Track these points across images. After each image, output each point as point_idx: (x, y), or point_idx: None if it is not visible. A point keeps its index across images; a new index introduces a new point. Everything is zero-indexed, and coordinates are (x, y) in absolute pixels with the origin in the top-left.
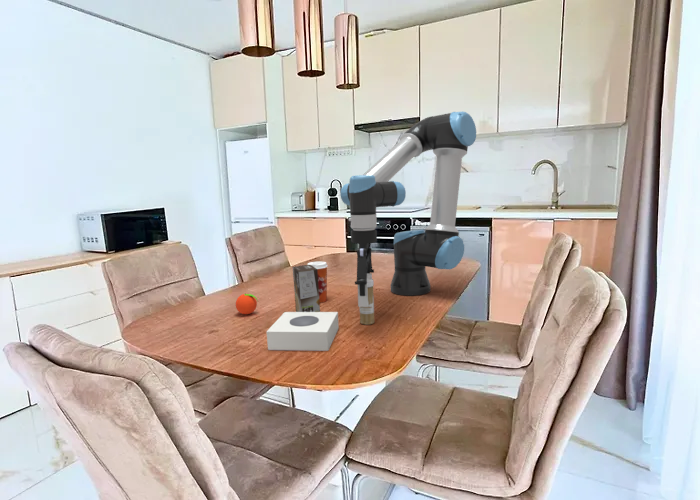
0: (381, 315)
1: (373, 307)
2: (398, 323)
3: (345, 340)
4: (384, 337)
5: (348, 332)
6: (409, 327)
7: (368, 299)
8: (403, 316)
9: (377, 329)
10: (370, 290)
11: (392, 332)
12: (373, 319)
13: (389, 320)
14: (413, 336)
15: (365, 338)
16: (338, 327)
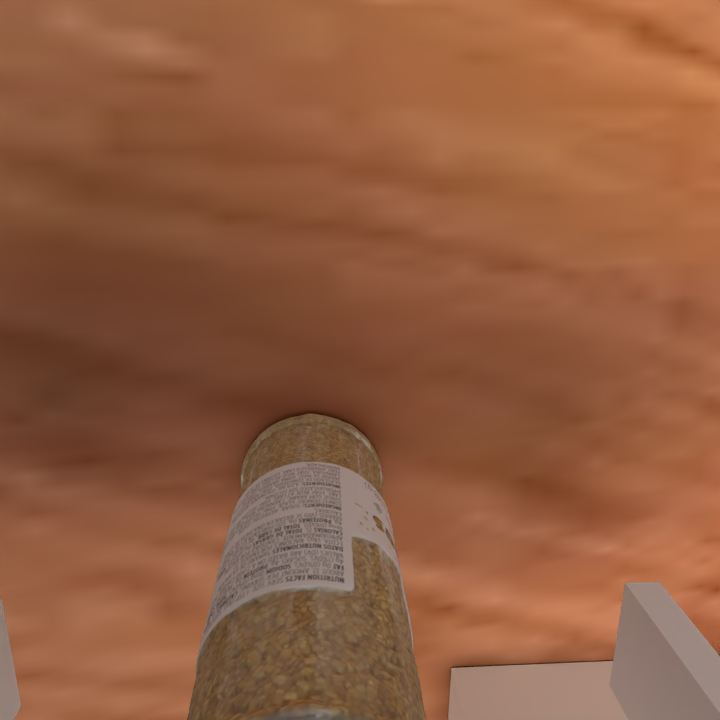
0: (81, 362)
1: (335, 493)
2: (325, 170)
3: (704, 579)
4: (688, 293)
5: (543, 586)
6: (449, 44)
7: (406, 619)
8: (85, 112)
9: (489, 369)
10: (402, 700)
11: (576, 226)
12: (335, 434)
13: (235, 270)
14: (704, 6)
15: (686, 445)
16: (461, 675)
